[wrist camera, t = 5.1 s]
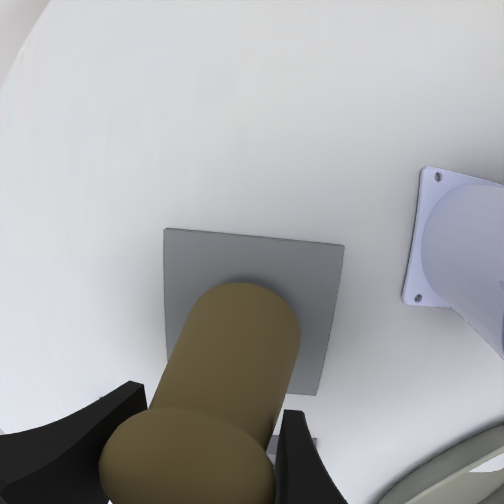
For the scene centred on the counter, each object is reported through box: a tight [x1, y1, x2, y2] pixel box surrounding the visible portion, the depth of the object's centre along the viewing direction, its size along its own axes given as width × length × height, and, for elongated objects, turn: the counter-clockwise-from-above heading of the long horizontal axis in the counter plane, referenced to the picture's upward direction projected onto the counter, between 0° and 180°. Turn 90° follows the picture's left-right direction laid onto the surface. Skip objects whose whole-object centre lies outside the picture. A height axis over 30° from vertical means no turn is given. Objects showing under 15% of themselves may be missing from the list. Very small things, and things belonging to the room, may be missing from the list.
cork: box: [98, 283, 301, 504], centre depth 10 cm, size 6×6×11 cm
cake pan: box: [378, 425, 504, 504], centre depth 19 cm, size 25×25×4 cm
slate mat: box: [163, 228, 344, 396], centre depth 18 cm, size 10×10×1 cm
